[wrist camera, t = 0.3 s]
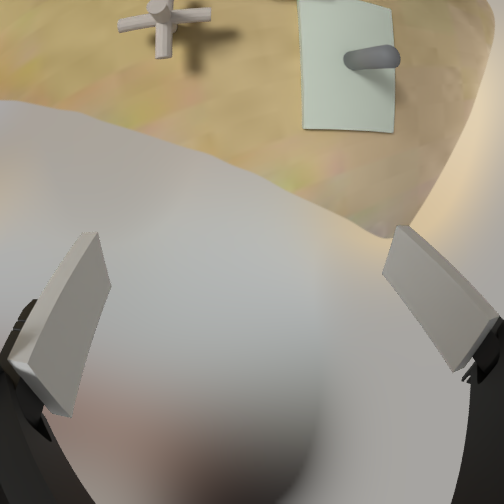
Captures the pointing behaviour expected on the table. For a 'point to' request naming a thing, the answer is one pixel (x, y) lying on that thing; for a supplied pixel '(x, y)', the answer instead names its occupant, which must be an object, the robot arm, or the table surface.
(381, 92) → the post stand
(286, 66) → the table surface
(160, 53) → the pipe connector
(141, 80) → the table surface
